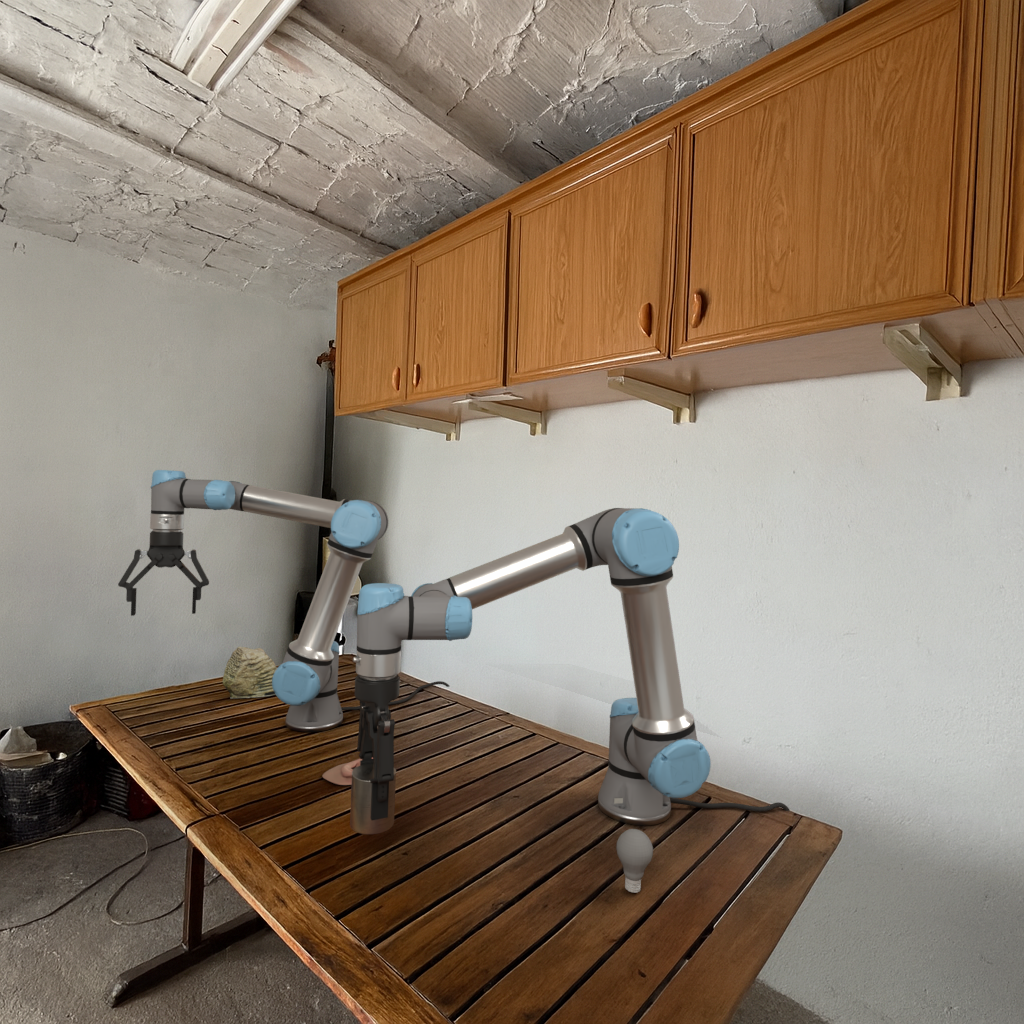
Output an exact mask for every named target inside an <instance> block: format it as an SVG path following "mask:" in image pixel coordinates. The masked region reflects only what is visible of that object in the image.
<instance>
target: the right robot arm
mask: <svg viewBox="0 0 1024 1024" xmlns="http://www.w3.org/2000/svg"><path fill="white" fill-rule="evenodd" d="M679 551H680V539H679V535H678V532H677V530H676V528H675V526H674V525H673V524H672V522H671V521H670V520H669V519H668V518H667V517H665V516H664V515H663V514H661V513H659V512H657V511H654V510H651V509H648V508H644V507H643V508H642V507H640V508H634V507H633V508H632V507H631V508H630V507H629V508H628V507H627V508H625V507H612V508H608V509H605V510H602V511H600V512H598V513H596V514H593V515H591V516H588V517H586V518H585V519H582V520H580V521H578V522H575V523H573V524H571V525H568V526H566V527H564V530H563V532H562V533H560V534H558V535H555V536H553V537H550V538H547V539H545V540H543V541H540V542H538V543H535V544H532V545H530V546H527V547H525V548H522V549H520V550H517V551H515V552H514V551H513V552H512V553H509V554H507V555H504V556H501V557H499V558H496V559H493V560H491V561H488V562H486V563H483V564H481V565H478V566H476V567H473V568H471V569H467V570H465V571H463V572H460V573H458V574H455V575H453V576H450V577H447V578H445V579H442V580H439V581H437V582H434V583H432V582H429V583H427V582H426V583H423V584H420V585H418V586H416V588H415V589H414V590H413V592H412V593H411V596H410V595H405V593H404V588H403V586H402V585H400V584H396V583H387V582H374V583H367V584H365V585H363V586H362V587H361V588H360V589H359V591H358V602H357V612H356V613H357V615H356V616H357V617H356V618H357V619H356V656H354V657H353V658H352V662H353V663H355V673H356V674H357V675H356V676H355V677H354V697H355V699H356V700H357V701H358V702H359V706H360V710H359V721H358V732H357V733H358V734H357V746H356V750H357V752H359V755H358V756H359V759H362V760H361V761H360V765H364V764H368V763H373V767H374V779H370V783H372V792H371V820H377V819H382V818H388V798H389V781H393V780H394V768H395V736H394V735H395V725H396V721H395V719H394V718H393V719H392V712H391V709H390V708H389V705H388V703H389V702H392V701H396V699H398V698H399V696H400V690H401V689H400V686H401V677H400V673H401V672H402V671H401V670H402V641H449V642H452V641H455V640H466V639H467V638H469V637H470V636H471V633H472V628H473V610H475V609H477V608H480V607H483V606H485V605H488V604H490V603H492V602H495V601H497V600H500V599H502V598H505V597H507V596H510V595H512V594H515V593H517V592H521V591H523V590H525V589H527V588H530V587H533V586H535V585H537V584H540V583H543V582H545V581H548V580H550V579H552V578H555V577H558V576H560V575H563V574H566V573H568V572H570V571H572V570H575V569H577V570H580V571H582V572H584V571H586V570H589V569H593V568H595V567H598V566H599V567H600V566H607V568H608V573H609V580H610V585H611V586H612V587H614V588H615V590H617V591H619V593H620V599H621V605H622V612H623V618H624V625H625V630H626V638H627V644H628V651H629V656H630V665H631V670H632V677H633V684H634V690H635V697H624V698H619V699H616V700H614V701H613V702H612V704H611V707H610V714H609V739H608V764H607V765H608V766H607V769H606V773H605V775H604V778H603V781H602V783H601V786H600V788H599V791H598V795H597V796H598V797H597V806H598V808H599V810H600V812H602V813H603V814H604V815H606V816H608V817H609V818H611V819H613V820H615V821H618V822H620V823H624V824H628V825H634V826H654V825H659V824H662V823H664V822H666V821H667V820H668V819H669V818H670V817H671V814H672V804H677V805H683V806H690V807H696V808H701V809H725V808H727V809H729V808H730V809H739V810H745V811H751V812H757V813H758V812H760V813H761V812H762V813H766V812H769V811H772V810H775V809H777V808H780V809H783V810H784V811H786V812H790V811H791V810H790V808H789V807H788V806H787V805H786V804H785V803H783V802H774V803H771V804H768V805H765V806H754V805H748V804H743V803H738V802H737V803H736V802H716V803H715V802H714V803H713V802H712V803H711V802H710V803H709V802H708V803H707V802H698V801H693V800H688V799H684V798H687V797H689V796H692V795H693V794H695V793H696V792H698V791H699V790H700V789H701V788H702V786H703V784H704V783H705V782H706V781H707V780H708V777H709V775H710V772H711V767H712V766H711V765H712V764H711V761H712V760H711V757H710V754H709V751H708V750H707V748H706V746H705V745H704V744H703V743H702V742H701V741H699V740H698V737H697V730H696V724H695V723H696V722H695V718H694V714H693V713H691V712H690V711H688V710H687V709H686V708H685V705H684V698H683V691H682V684H681V678H680V671H679V664H678V659H677V650H676V643H675V637H674V629H673V624H672V623H673V622H672V617H671V611H670V610H671V608H670V602H669V594H668V589H667V587H668V585H669V583H671V581H672V580H673V578H674V571H673V565H674V563H675V560H676V559H677V558H678V556H679ZM372 757H373V759H372ZM769 805H770V806H769Z"/></svg>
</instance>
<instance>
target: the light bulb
mask: <svg viewBox="0 0 1024 1024" xmlns="http://www.w3.org/2000/svg"><path fill="white" fill-rule="evenodd" d="M615 849H616V854H617V857H618V859H619V861H620V863H621V865H622V867H623V873H624V874H623V875H624V876H625V878H624V888H625V890H627V891H628V892H630V893H634V894H635V893H639V892H640V891H641V889H642V887H641V886H642V879H643V877H644V875H645V871H646V868H647V867H648V866H649V864H650V863H651V861H652V859H653V855H654V847H653V843H652V841H651V838H649V836H648V835H647V834H646V833H645V832H643V831H642V830H641V829H636V828H629V829H627V830H625V831H623V832H622V833H621V834H620V835H619V837H618V839H617V841H616V847H615Z"/></svg>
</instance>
